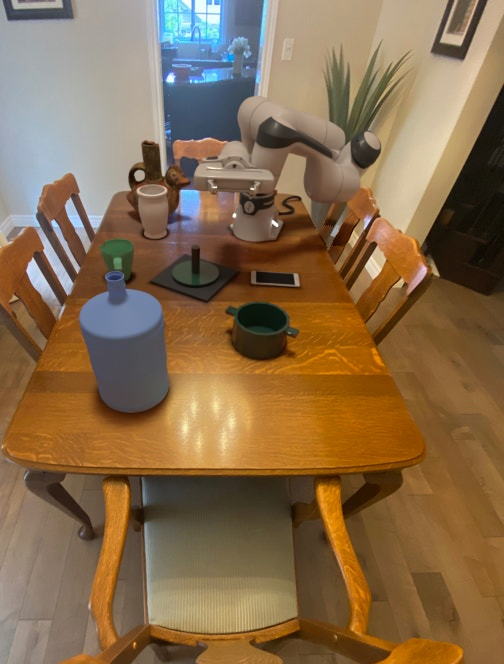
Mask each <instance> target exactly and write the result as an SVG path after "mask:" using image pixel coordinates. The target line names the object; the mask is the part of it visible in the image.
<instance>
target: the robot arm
mask: <svg viewBox="0 0 504 664" xmlns="http://www.w3.org/2000/svg"><path fill="white" fill-rule="evenodd" d="M237 124H238V127H239V131H240V137H241V139H240V140H241V141H239V140H231V141H229V142H227V143H226V144H225V145H224V146H223V147H222V149H221V151H220V154H219V155H213V156H207V157H202V158H201V163H200V164H198V165H197V167H196V169H195V170H194V173H193V189H194V190H195V191H198V192H199V191H200V192H209V193H210V195H218V193H219V192H220V193H230V194H231V193H232V194H235V193H236V194H237V193H239V199H238V203H237V205H236V206H235V209H234V213H233V214H232V218H233V223H231V224H230V225H229V229H230V230H231V231H232V232H233V235H234V236H235V237H236V238H238V239H239V240H243V241H247V242H253V243H254V242H255V243H258V242H265V241H276V240H278V239H277V238H278V236H279V235H280V232H281V230H282V228H283V226H284V221H282V220H281V219H280V218H279V215H280V216H282V215H290V214H292V213H294V212H295V207H294V206H292V205H291V204H289V203H287V201H289V200H292V199H298V200H299V201H302V200H303V198H302V197H301V196H300V195H291V196H287V197H286V198H284V199H283V200H282V202H281V203H282V205H283V206H285V207H286V208H288V209H290V210H289V211H280V209H279V207H278V206H277V205H276V203H275V201H276V196H278V189H276V188H277V185H278V183H279V180H280V178H281V175H282V172H283V169H284V166H285V164H286V162H287V159H288V156H289V154H291V155H293V156H298V157H301V158H305V166H304V167H305V168H304V173H303V181H302V182H303V189H304V192H305V195H306V196H307V197H308V199H310V200H311V201H314V202H317V203H321V204H332V205H333V204H343V203H348V202H350V201H352V200H353V199H354V198H356V196H357V195H358V193H359V191H360V188H361V178H362V177H363V176H364V175H365V174H366V173H367V171H368V170H369V169H370V167H372V166H373V165H375V163H376V161H377V160H378V158H379V157H380V155H381V153H382V143H381V141H380V139H379V138H378V136H377V135H376V134H375V133H374V132H373V131H371V130H368V129H362V130H360V131H358V132H357V133H356V134H354V135H353V136H352V137H351V138H350V141H349V142H348V143H347V144H346V134H345V132H344V130H343V129H342V128H341V127H340V126H338V125H337V124H335V123H334V122H332V121H329V120H328V119H325V118H324V117H320V116H317V115H314V114H312V113H308V112H306V111H302V110H299V109H295V108H292V107H289V106H286V105H283V104H281V103H279V102H277V101H274V100H272V99H270V98H268V97H265V96H263V95H254V96H249V97H247V98H246V99H244V100H243V101H242V103H241V104H240V106H239V109H238V112H237Z"/></svg>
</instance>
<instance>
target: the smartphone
mask: <svg viewBox="0 0 504 664" xmlns="http://www.w3.org/2000/svg"><path fill="white" fill-rule="evenodd" d="M250 284H251V285H253V286H255V285H256V286H271V287H286V288H287V287H289V288H300V286H301V284H300V277H299V274H298V273H296V272H295V273H294V272H293V273H292V272H280V271H279V272H278V271H264V270H263V271H262V270H251V272H250Z"/></svg>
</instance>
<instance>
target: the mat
mask: <svg viewBox="0 0 504 664" xmlns="http://www.w3.org/2000/svg"><path fill="white" fill-rule="evenodd" d="M185 261H191V254H187V253H185V254H183V255H182V256H181V257H180V258H178V259H176V260H175V261H174V262H173V263H172V264H170V265H169V266H168V267H167V268H165V269H164V270H162V271H161V272H160V273H159V274H157V275H156V276H155V277H153V278H152V279H151V280H150V283H151V284H153V285H156V286H159V287H161V288H164V289H166V290H170V291H173V292H175V293H178V294H181V295H184V296H186V297H190V298H192V299H195V300H197V301H200V302H204V303H208V302H209V301H210V300H211V299H212V298H213V297H215V295H217V294H218V292H220V290H222V289H223V288H224V287H225V286H226V285H227V284H228V283H229V282H230V281H231V280H232V279H233V278H234V277H235V276H236V275H237V274H238V273H239V270H238V269H235V268H232V267H228V266H226V265H222V264H219V263H215V262H213V261H209V260H207V259H202V258H200V261H205V262H209V263H211V264H213V265H214V266H216V267H217V269H218V270H219V276H218V278H217V280H216V281H214V282H213V283H211V284H208V285H205V286H187V285H184V284H181V283H179V282H177V281H176V280H175V279H174V278H173V276H172V270H173V268H174V267H175V266H176V265H178V264H179V263H182V262H185Z"/></svg>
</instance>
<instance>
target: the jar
mask: <svg viewBox="0 0 504 664" xmlns="http://www.w3.org/2000/svg"><path fill="white" fill-rule="evenodd" d="M137 195H138V196H139V199H138V208H139V212H138V214H139V218H140V222H141V225H142V228H143V229H144V232H143V235H144V236H145V237H146V238H148V239H151V240H153V239H154V240H158V239H162V238H165V237H167V234H168V232H167V226H168V220H169V217H168V201H167V197H166V195H167V188H165V187H164V186H160V185H145V186H141V187H139V188H138V189H137Z"/></svg>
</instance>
